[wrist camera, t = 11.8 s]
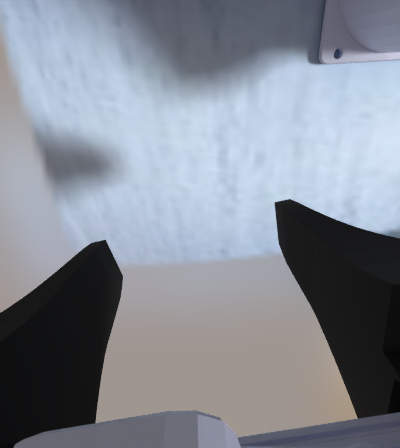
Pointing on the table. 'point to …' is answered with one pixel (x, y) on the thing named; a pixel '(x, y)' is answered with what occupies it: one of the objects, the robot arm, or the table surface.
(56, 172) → the table surface
